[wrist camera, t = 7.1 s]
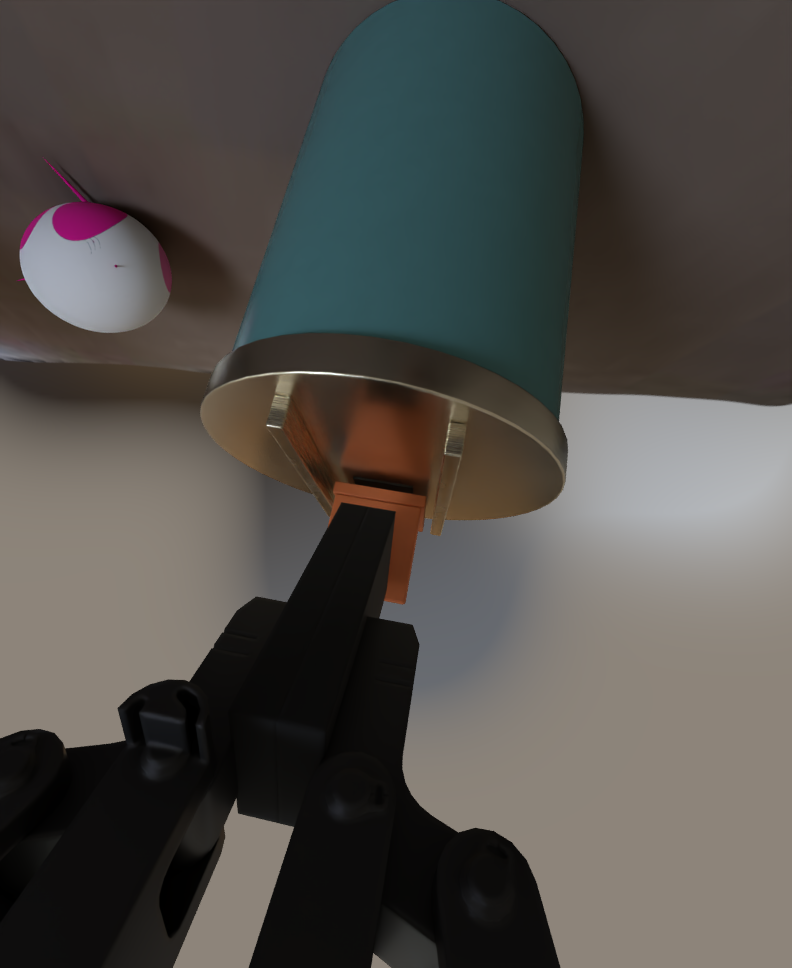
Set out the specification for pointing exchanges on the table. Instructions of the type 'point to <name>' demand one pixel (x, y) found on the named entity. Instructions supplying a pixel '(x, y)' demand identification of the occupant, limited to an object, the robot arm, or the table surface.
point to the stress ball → (95, 266)
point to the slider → (405, 528)
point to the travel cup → (418, 272)
